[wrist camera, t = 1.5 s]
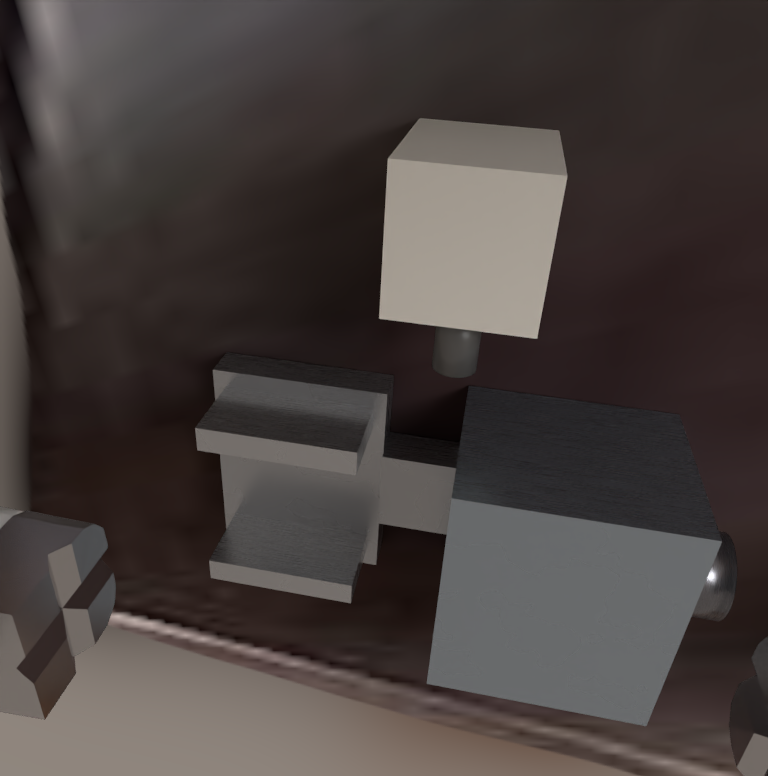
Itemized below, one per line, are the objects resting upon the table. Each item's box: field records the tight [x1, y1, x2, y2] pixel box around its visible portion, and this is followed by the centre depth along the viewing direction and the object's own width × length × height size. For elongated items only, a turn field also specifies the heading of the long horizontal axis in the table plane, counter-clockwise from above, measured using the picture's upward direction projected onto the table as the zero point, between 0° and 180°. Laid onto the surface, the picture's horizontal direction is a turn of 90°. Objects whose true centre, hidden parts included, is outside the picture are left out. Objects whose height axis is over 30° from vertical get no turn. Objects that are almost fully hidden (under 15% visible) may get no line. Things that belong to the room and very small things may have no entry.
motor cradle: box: [195, 352, 737, 726], centre depth 27 cm, size 20×9×7 cm, turn 87°
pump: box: [379, 118, 567, 378], centre depth 22 cm, size 4×6×6 cm
